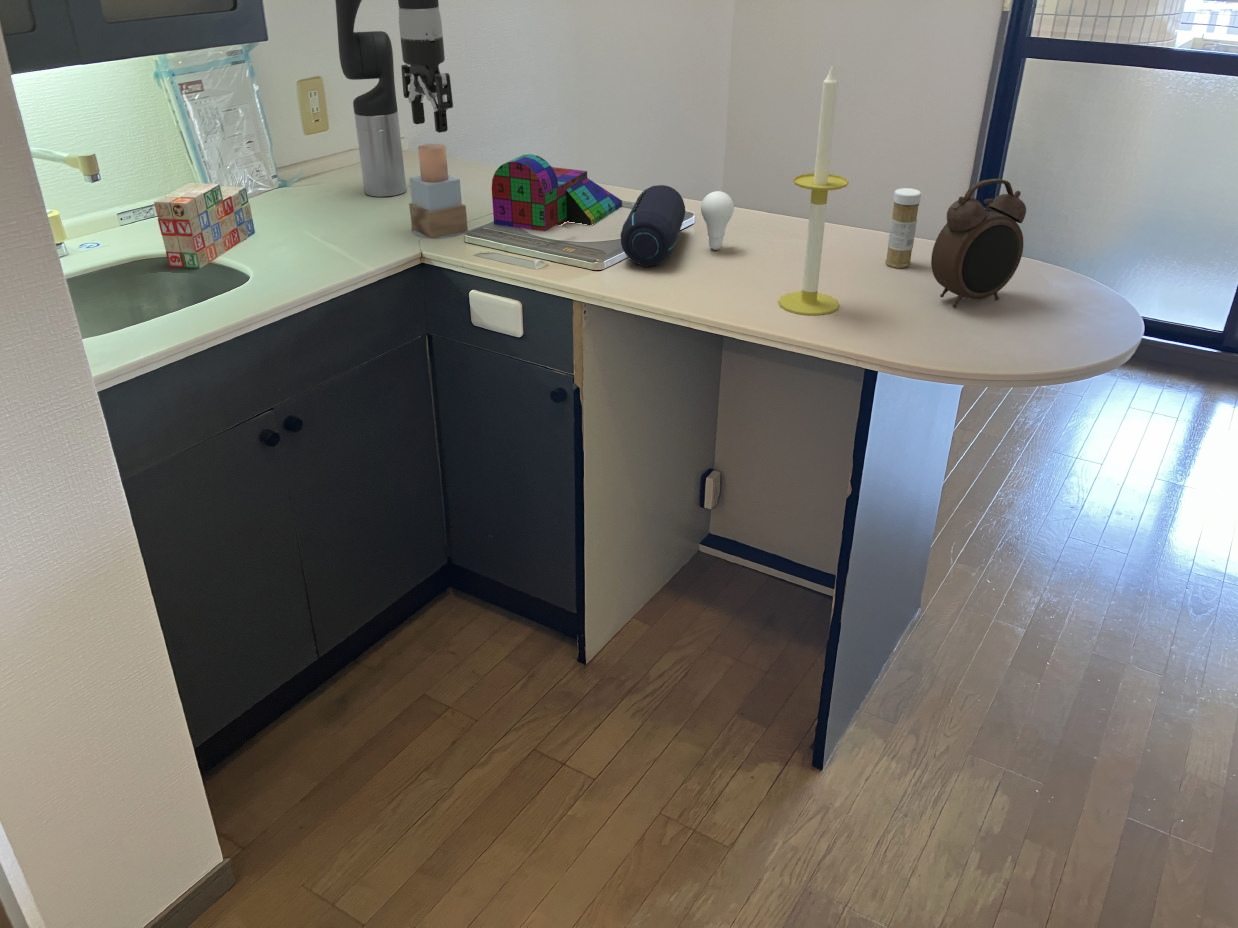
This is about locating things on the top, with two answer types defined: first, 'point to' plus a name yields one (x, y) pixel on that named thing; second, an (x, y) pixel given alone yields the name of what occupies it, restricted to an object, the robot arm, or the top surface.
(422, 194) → the grey-blue top block
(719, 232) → the lightbulb
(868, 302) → the top surface
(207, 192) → the stack of blocks
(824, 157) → the candle
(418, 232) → the slate coaster
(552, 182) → the numbered checker block
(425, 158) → the peach rounded cylinder
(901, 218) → the sprinkles bottle
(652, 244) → the portable speaker
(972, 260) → the alarm clock
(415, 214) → the walnut base block
